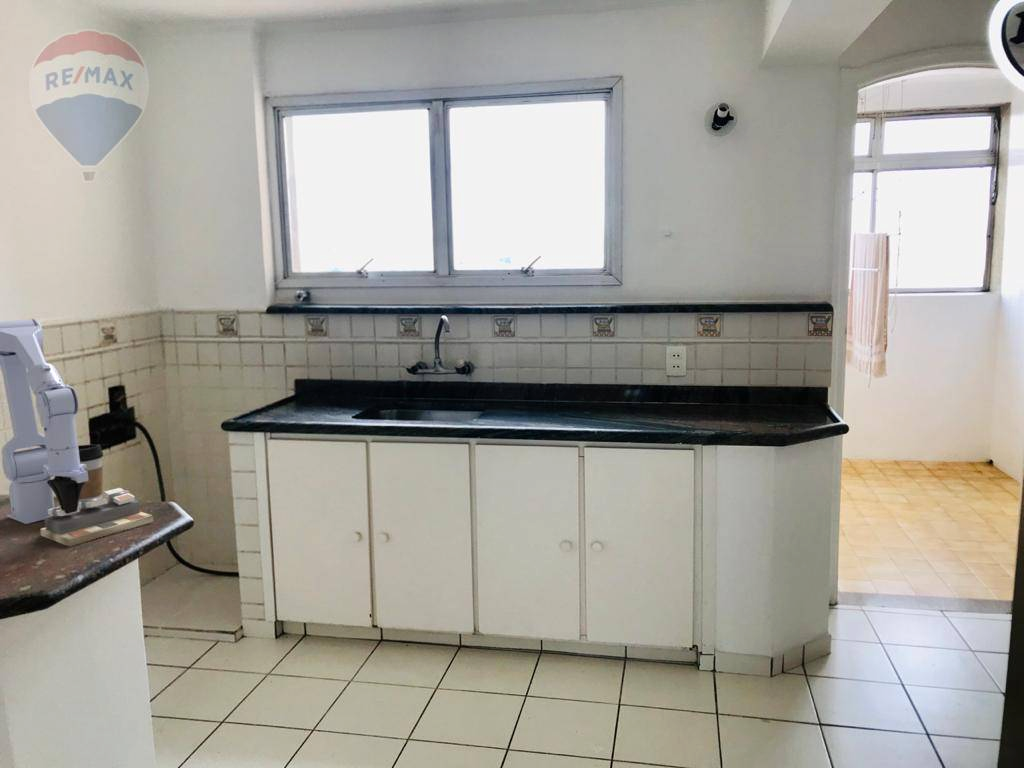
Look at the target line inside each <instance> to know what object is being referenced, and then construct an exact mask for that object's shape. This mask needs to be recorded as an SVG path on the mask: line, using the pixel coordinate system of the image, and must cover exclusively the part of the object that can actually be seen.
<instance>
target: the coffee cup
mask: <svg viewBox="0 0 1024 768" xmlns="http://www.w3.org/2000/svg"><path fill="white" fill-rule="evenodd" d="M78 449H79V458H80V464H86V468H84V470H85V471H87V472H88V481H85V482H84V484H83V486H82V489H81V492H80V496H79V501H78V503H79V502H82V501H86V500H90V499H93V498H97V497H102V498H103V494H104V491H103V484H104V483H103V479H104V478H103V475H104V474H103V470H104V467H103V466H104V465H103V464H102V462H103V460H102V458H103V457H104V452H103V450H102V447H101V444H100V443H99V444H98V443H97V444H82V445H78ZM79 509H80V508H79Z"/></svg>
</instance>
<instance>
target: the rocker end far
mask: <svg viewBox="0 0 1024 768" xmlns="http://www.w3.org/2000/svg"><path fill="white" fill-rule="evenodd" d="M103 497H105V498H106V499H107V500H108V501H110V502H115V503H117V504H118V505H120V504H124V503H128V502H132V501H136V498H135V497H136V496H135V495H133V494H131V493H130V491H129V490H128V489H126V490H124V489H123V488H121V487H117V488H114V489H110V490H105V491H103Z"/></svg>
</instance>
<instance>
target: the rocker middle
mask: <svg viewBox="0 0 1024 768" xmlns="http://www.w3.org/2000/svg"><path fill="white" fill-rule="evenodd" d="M108 501H109V500H108V498H103V496H102V497H97V498H93V499H90V500H86V501H82V502H79V503H78V507H79V508H83V509H84V510H85V509H88V508H92V507H96V506H100V505H103V504H107V503H108Z"/></svg>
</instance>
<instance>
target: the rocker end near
mask: <svg viewBox="0 0 1024 768" xmlns="http://www.w3.org/2000/svg"><path fill="white" fill-rule="evenodd" d="M76 512H80V511H79V507H78V508H77V511H76ZM76 512H72V513H76ZM72 513H68V514H72ZM48 514H50V515H53V516H54V517H58V516H64V515H68V514H66V513H65V511H64V510H62V509H61V507H60V506H57V507H55V508H52V509H48Z"/></svg>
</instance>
